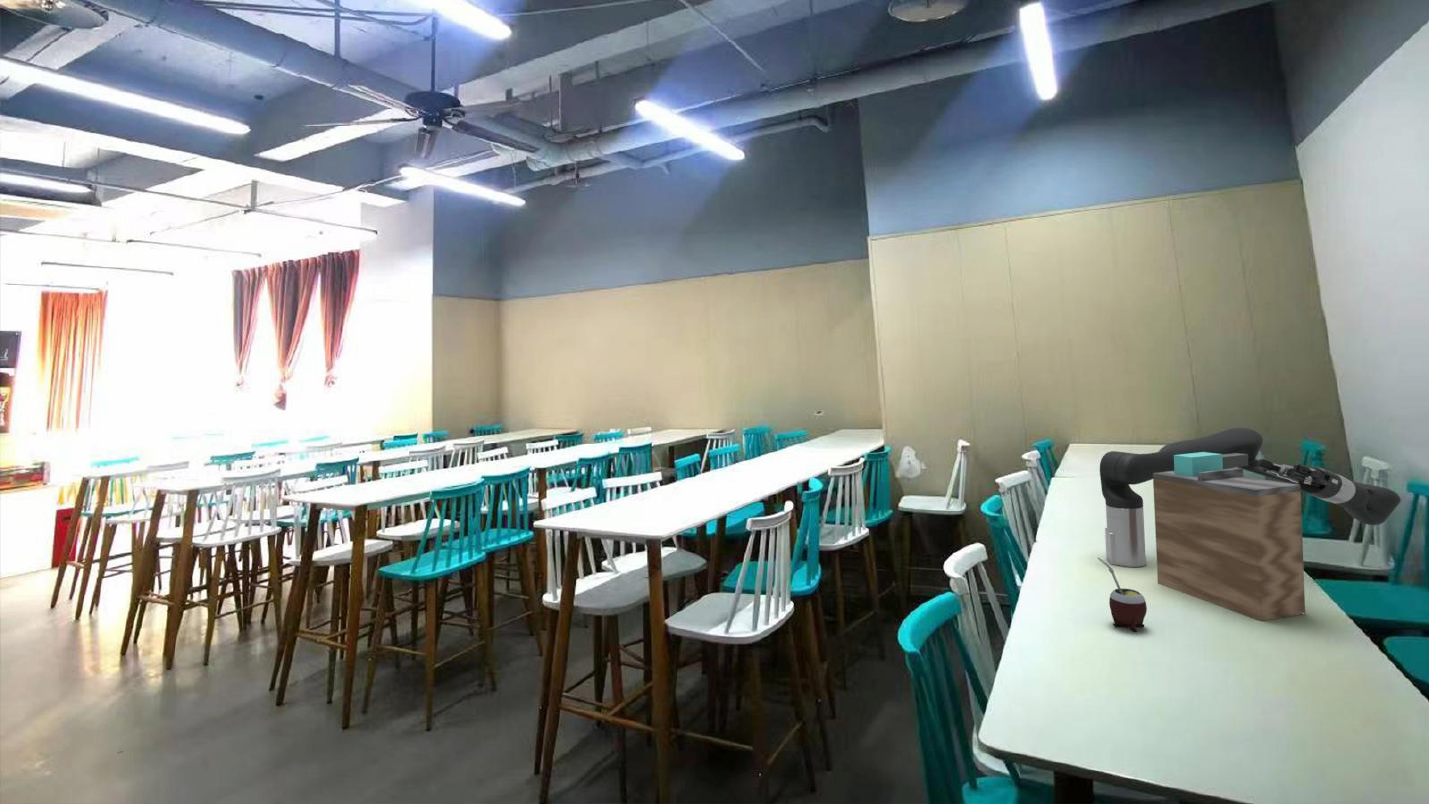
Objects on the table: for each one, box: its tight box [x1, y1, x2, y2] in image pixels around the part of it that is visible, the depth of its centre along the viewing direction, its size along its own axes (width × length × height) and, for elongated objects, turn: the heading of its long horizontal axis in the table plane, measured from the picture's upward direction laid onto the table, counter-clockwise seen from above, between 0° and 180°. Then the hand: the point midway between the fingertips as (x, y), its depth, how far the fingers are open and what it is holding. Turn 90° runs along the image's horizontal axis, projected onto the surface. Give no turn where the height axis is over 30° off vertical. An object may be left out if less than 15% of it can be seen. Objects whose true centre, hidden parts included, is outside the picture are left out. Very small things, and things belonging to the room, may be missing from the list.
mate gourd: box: [1097, 557, 1148, 633], centre depth 135 cm, size 8×8×15 cm
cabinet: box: [1152, 467, 1306, 622], centre depth 146 cm, size 13×26×32 cm, turn 8°
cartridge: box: [1174, 452, 1248, 477], centre depth 153 cm, size 18×5×5 cm, turn 98°
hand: (1276, 464), depth 153 cm, fingers open, 8 cm apart
